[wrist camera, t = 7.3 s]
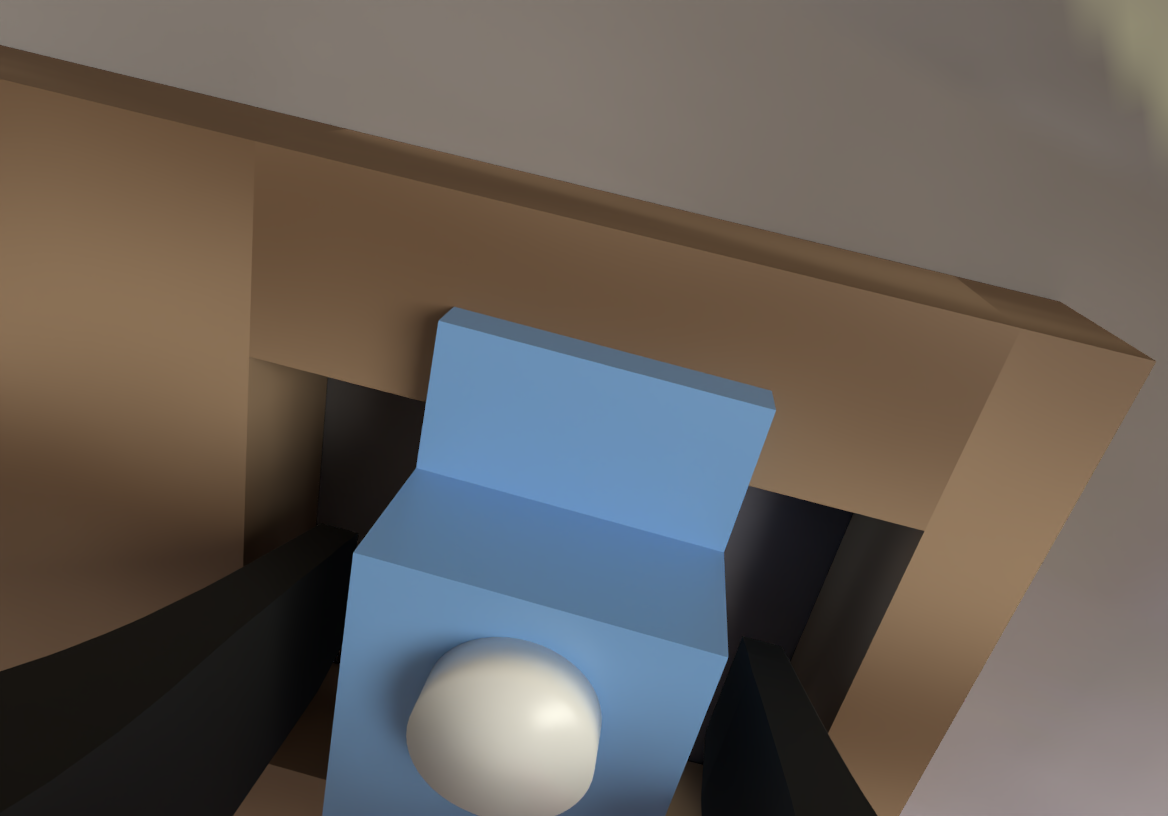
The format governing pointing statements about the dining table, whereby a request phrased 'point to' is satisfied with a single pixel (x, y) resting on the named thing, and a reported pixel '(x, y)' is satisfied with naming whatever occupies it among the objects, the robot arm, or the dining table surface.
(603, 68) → the dining table surface
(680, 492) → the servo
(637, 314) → the plate
